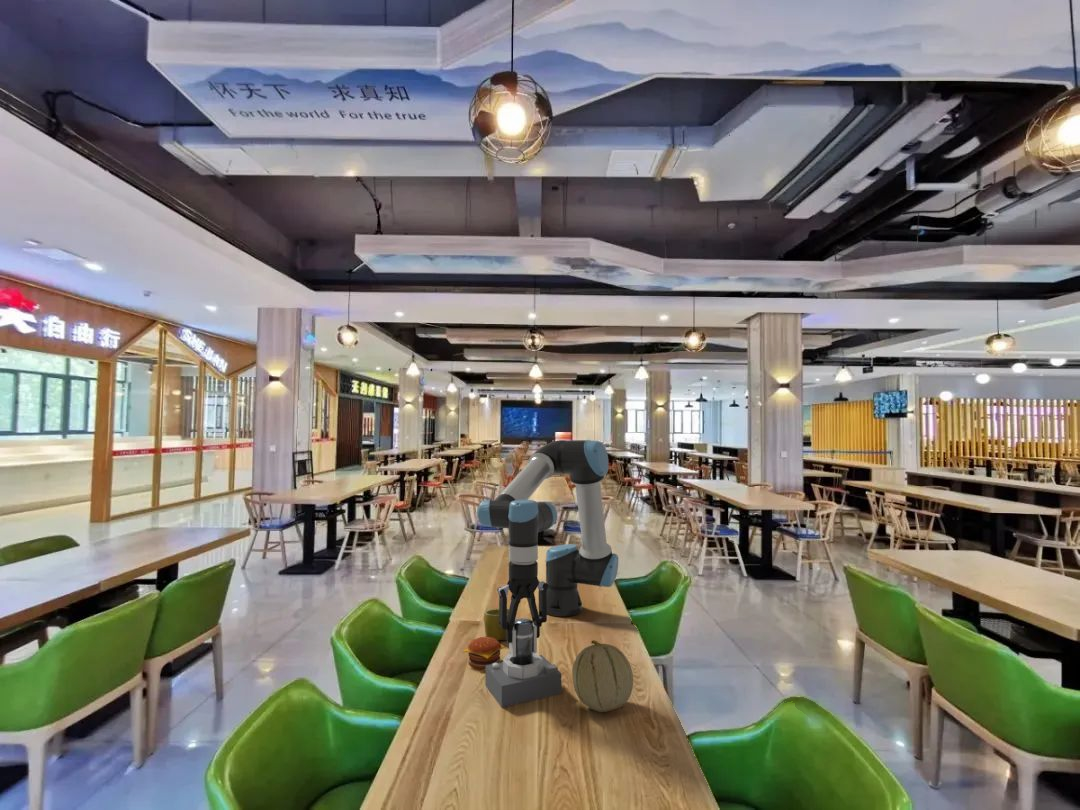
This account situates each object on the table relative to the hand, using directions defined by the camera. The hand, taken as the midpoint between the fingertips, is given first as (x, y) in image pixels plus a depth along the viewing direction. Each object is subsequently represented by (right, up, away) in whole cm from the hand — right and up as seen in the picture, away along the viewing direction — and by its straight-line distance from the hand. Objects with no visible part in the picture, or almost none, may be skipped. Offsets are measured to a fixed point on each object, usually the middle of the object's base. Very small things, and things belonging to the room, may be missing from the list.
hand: (523, 652), depth 135 cm
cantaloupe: (+19, -9, -9) cm, 23 cm away
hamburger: (-12, -10, +15) cm, 22 cm away
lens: (0, -2, 0) cm, 2 cm away
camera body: (0, -9, 0) cm, 9 cm away
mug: (-9, -11, +35) cm, 38 cm away
